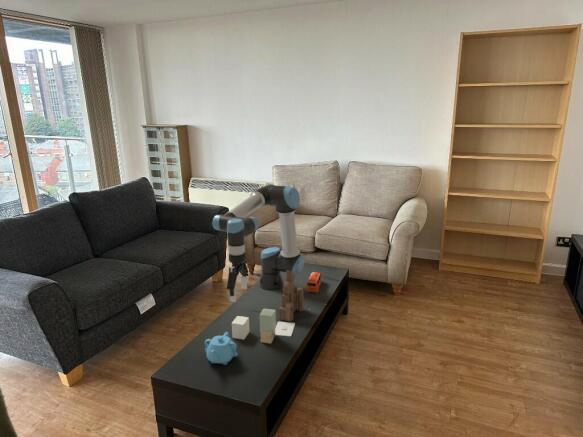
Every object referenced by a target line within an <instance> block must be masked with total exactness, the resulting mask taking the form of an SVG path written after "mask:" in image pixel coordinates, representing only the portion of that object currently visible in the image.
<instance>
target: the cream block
mask: <svg viewBox="0 0 583 437" xmlns="http://www.w3.org/2000/svg"><path fill="white" fill-rule="evenodd" d="M249 333H250V318H249V316H248V317H247V316H241V315H237V316H236V317H235V318H234V319H233V321H232V322H231V334H232V338H233V339H238V340H245V339H246V338H247V336H248V334H249ZM232 338H231V339H232Z"/></svg>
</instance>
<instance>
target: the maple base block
mask: <svg viewBox="0 0 583 437" xmlns="http://www.w3.org/2000/svg"><path fill="white" fill-rule="evenodd" d="M275 328H276V326H275V327H274V329H273V331H264V330H259V331H260V343H265V344H272V342H273V341H274V338H275V337H276V335H275Z"/></svg>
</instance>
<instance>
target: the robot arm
mask: <svg viewBox="0 0 583 437" xmlns="http://www.w3.org/2000/svg"><path fill="white" fill-rule="evenodd" d="M300 200H301V198H300V192H299V191H298V189H297V188H296V187H294V186H290V185H275V184H269V185H264V186H261V187H259V188H257V189H256V190H254V191H253V192H251V193H250V194H249V196H248V197H247V198H246V199H244V200H243V201H242V202H240V203H238V204H237V205H236V206H234V207H233V208H232V209H230V210H229V211H227V212H226V213H225V214H216V215H214V217H213V218H212V222H211V223H212V227H213V229H214V230H216V231H220V232H226V234H227V248H228V249H227V250H228V251H227V252H228V262H229V263H231V267H228V277H227V284H226V290H227V291H229V301H230V302H232V303H237V292H236V289H237V288H235V287H236V282H237V278H238V276H239V275H241V276H240V289H241V290H247V289H248V281H247V277H248V276H249V269H248V266H247V262H246V243H245V237H247V236H249V235H250V236H251V235H252V234H254V233H255V232H256V231H258V229H259V227H260V223H259V220H258V219H257V218H256V217H255V216H250V214H252V213H254V212H255V211H256V210H257V209H261V208H263V207H266V206H267V207H268V206H270V207H274V209H275V212H276V213H278V218H279V228H280V237H281V246H282V249H281V248H280V247H278V246H274V247H268V248H265V249H263V250H261V253H260V263H261V264H260V265H261V275H260V276H259V281H258V285H259V287H260V288H262V289H264V290H267V291H268V290H271V291H272V290H273V291H274V290H279V289H281V288H283V284H284V282H285V280H284V278H283V275H282V273H281V272H283V273H286V271H287V270H288V271H291V272H292V273H293V274H294V275H299V274H301V272H302V270H303V268H304V265H305V256H304V255H303V254H301V250H300V249H299V248H298V243H297V232H296V219H295V212H296V211H297V209H298V208H299V206H300ZM239 273H240V274H239Z"/></svg>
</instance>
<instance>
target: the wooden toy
mask: <svg viewBox="0 0 583 437" xmlns="http://www.w3.org/2000/svg"><path fill="white" fill-rule="evenodd" d="M285 273H286V274H285V275H286V277H285V278H286V280H284V284H283V286H282V294H281V306H280V307H279V308H278V311H279V314H278V316H279V320H280V321H283V322H289V323H292V321H293V320H294V313H295V312H296V311H299V312H303V311H304V288H303V287H297V291H296V292H297V293H295V279H296V278H297V276H296V274H293V273H292V272H291V271H288V270H287V271H286V272H285Z"/></svg>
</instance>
